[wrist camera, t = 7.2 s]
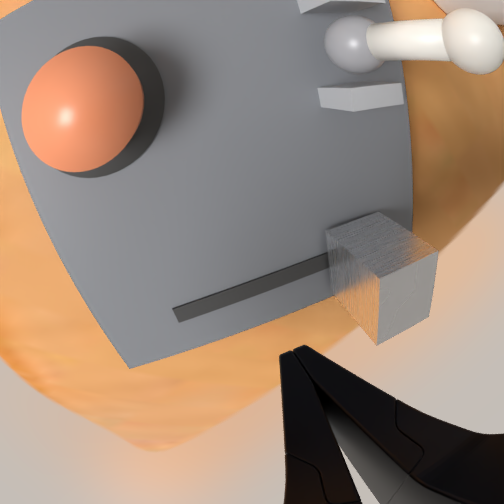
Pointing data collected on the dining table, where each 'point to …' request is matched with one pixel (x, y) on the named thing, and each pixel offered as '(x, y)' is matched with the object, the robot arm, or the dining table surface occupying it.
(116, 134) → the push button
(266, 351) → the dining table surface
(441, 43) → the toggle lever
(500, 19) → the mug
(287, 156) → the control panel
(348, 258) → the block
